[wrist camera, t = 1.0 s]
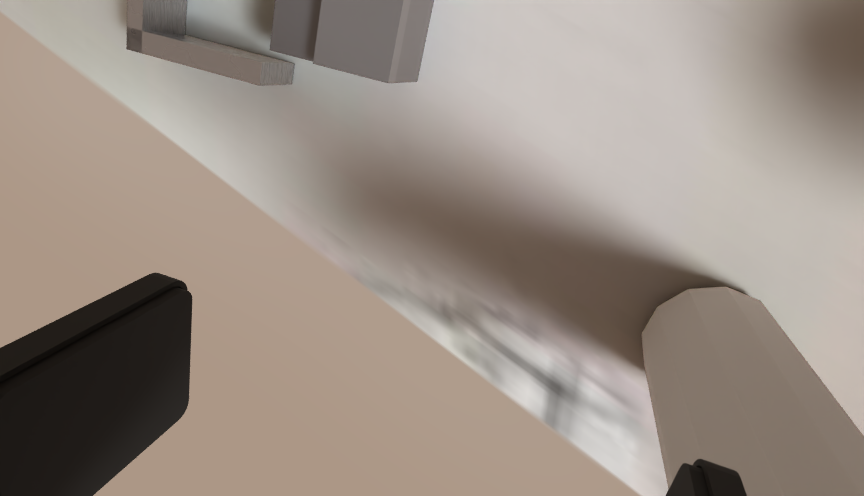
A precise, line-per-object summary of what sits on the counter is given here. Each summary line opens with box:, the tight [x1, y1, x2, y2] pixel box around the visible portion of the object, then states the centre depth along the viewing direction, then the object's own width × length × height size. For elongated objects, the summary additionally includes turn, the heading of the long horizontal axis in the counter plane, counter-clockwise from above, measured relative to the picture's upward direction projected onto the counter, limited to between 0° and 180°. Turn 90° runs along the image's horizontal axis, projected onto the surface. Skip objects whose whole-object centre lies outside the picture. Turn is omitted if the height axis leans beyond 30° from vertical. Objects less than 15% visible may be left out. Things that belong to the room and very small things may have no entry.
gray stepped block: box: [270, 0, 434, 83], centre depth 28 cm, size 5×7×5 cm
